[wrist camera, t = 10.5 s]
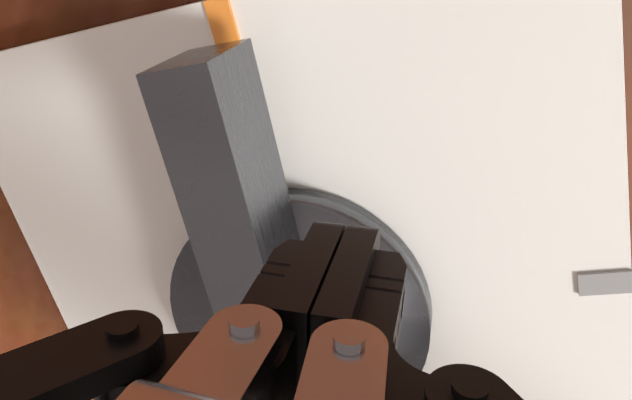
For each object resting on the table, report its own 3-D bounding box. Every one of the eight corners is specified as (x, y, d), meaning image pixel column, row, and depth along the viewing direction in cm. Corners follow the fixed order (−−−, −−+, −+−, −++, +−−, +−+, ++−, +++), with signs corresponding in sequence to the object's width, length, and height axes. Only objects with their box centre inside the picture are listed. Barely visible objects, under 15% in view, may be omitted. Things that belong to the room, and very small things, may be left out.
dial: (447, 403, 28) (442, 504, 23) (221, 401, 32) (176, 488, 27) (385, 7, 21) (360, 34, 16) (103, 61, 25) (14, 96, 20)
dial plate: (633, 495, 30) (641, 525, 29) (160, 479, 39) (147, 502, 37) (607, -101, 20) (619, -102, 18) (-33, 58, 28) (-61, 66, 27)
